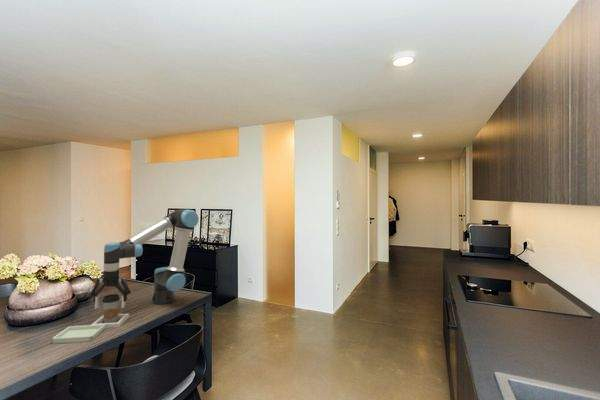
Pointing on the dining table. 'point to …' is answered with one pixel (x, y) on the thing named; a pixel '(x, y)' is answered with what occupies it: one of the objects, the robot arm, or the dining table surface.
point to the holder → (111, 325)
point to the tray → (78, 334)
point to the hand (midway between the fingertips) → (110, 307)
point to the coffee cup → (111, 308)
